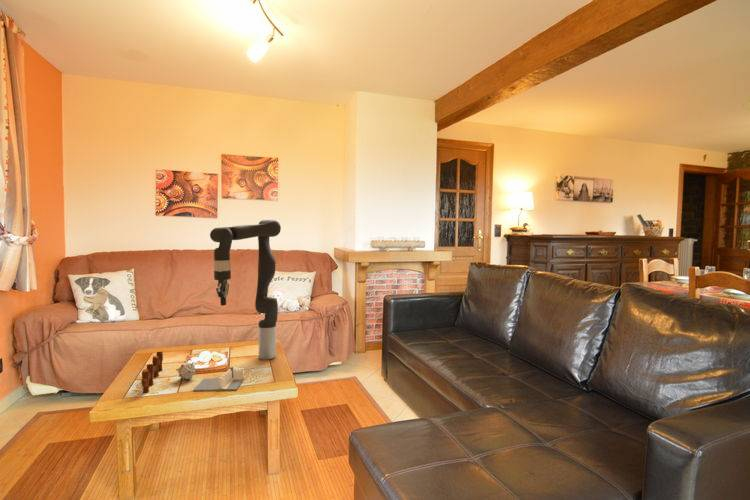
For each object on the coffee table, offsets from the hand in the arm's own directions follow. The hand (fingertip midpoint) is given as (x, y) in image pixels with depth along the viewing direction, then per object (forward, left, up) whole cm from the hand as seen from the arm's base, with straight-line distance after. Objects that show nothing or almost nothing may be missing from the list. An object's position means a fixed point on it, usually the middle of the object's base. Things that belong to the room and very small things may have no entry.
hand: (223, 305), depth 188 cm
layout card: (+14, +2, -34) cm, 36 cm away
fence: (+7, -30, -34) cm, 46 cm away
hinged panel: (+14, +5, -33) cm, 36 cm away
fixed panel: (+9, +9, -34) cm, 36 cm away
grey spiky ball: (+7, -15, -34) cm, 38 cm away
